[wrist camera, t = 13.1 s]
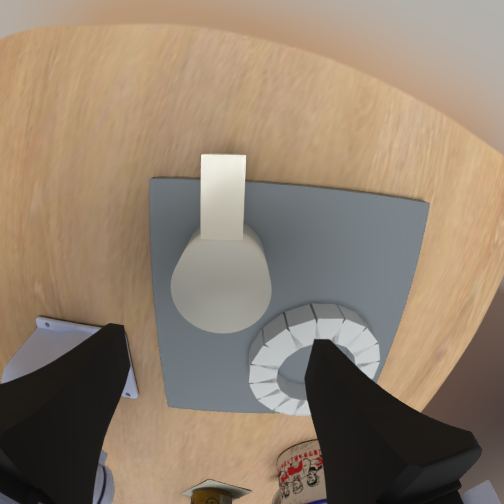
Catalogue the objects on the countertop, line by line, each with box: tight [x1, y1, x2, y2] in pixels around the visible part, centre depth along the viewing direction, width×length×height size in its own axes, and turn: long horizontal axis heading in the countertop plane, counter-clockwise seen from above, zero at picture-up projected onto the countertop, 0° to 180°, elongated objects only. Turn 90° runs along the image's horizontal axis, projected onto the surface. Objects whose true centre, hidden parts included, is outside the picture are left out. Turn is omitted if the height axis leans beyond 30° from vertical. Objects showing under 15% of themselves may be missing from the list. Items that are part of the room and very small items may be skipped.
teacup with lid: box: [272, 440, 327, 504], centre depth 25 cm, size 12×9×12 cm
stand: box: [150, 177, 430, 416], centre depth 21 cm, size 19×20×3 cm
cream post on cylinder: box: [171, 153, 272, 333], centre depth 16 cm, size 9×5×5 cm, turn 177°
